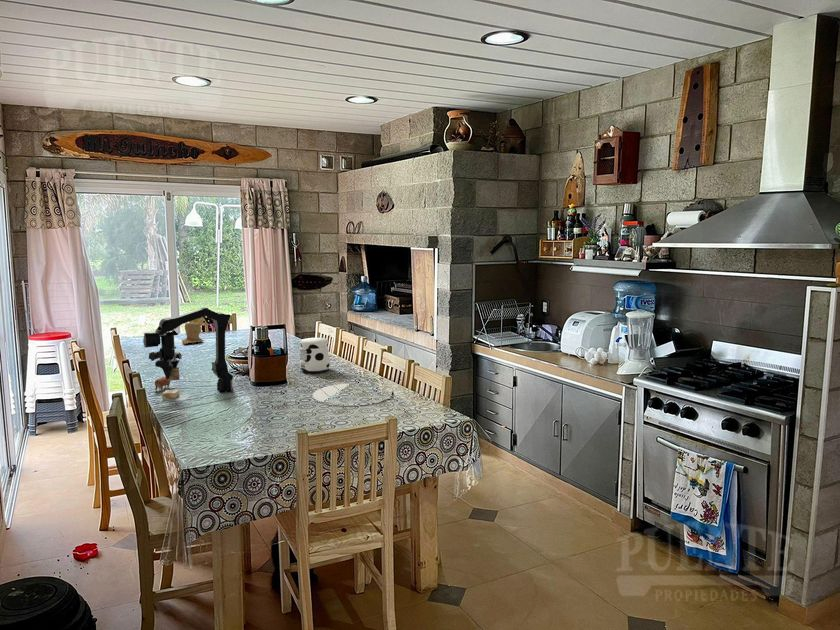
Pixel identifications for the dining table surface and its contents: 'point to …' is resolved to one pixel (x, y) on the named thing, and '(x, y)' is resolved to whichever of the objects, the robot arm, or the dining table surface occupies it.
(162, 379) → the bull figurine
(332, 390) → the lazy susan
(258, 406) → the dining table surface
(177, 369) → the walnut cube
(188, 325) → the stone cup
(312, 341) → the milk container
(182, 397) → the mat
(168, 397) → the oak base block
